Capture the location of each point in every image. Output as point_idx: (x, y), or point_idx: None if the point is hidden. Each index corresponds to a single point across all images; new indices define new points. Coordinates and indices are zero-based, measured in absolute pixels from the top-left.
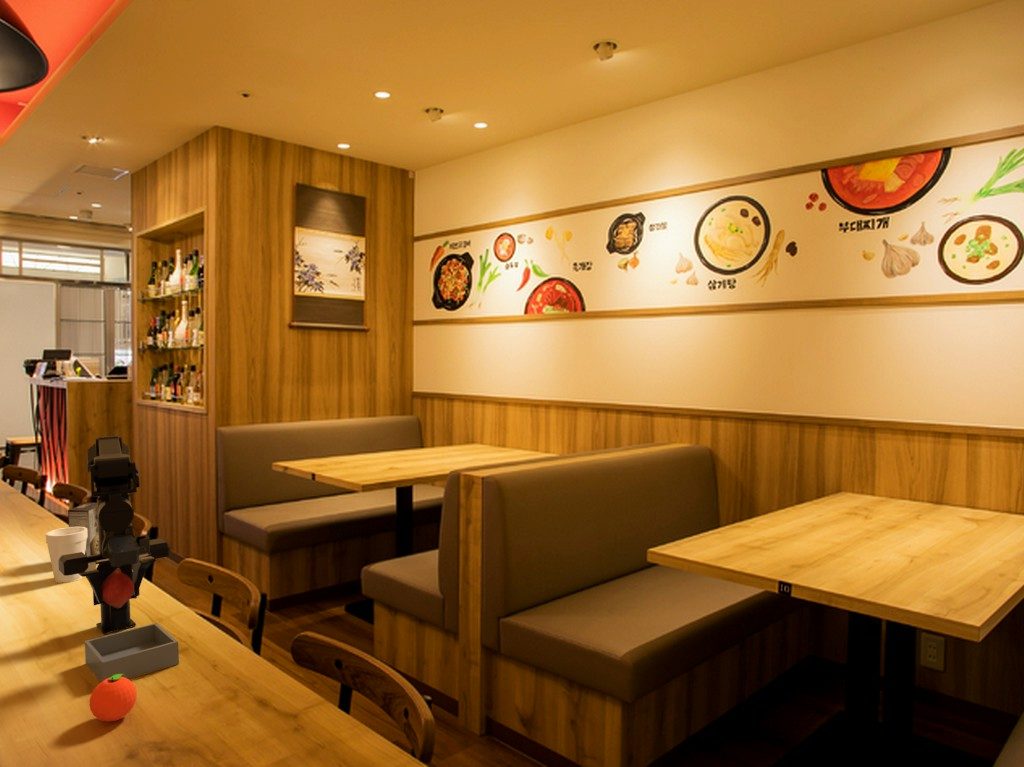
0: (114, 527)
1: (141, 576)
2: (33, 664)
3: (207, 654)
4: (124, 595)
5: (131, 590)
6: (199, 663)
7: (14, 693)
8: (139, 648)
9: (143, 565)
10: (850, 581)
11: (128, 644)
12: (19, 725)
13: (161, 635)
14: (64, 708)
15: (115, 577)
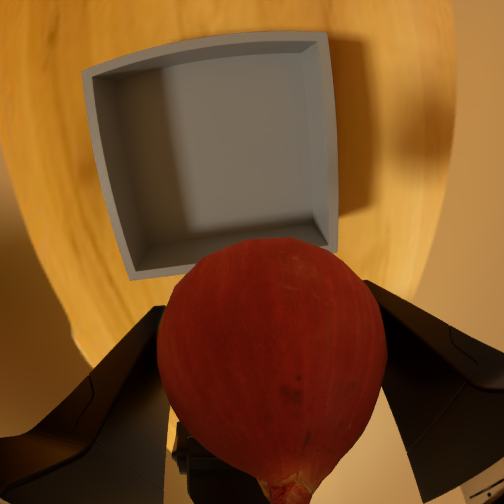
0: None
1: (84, 392)
2: (389, 283)
3: (48, 110)
4: (238, 247)
5: (177, 291)
6: (72, 61)
7: (443, 162)
8: (188, 215)
9: (4, 463)
10: None
11: (214, 240)
12: (443, 20)
13: (121, 198)
14: (384, 13)
15: (328, 418)
